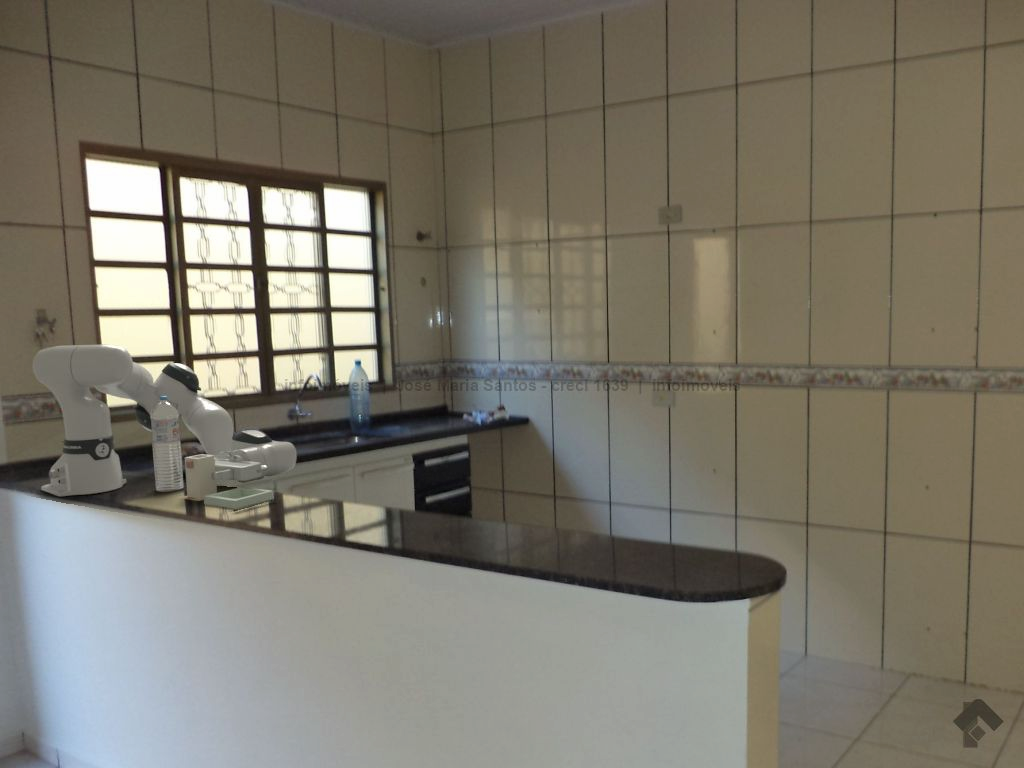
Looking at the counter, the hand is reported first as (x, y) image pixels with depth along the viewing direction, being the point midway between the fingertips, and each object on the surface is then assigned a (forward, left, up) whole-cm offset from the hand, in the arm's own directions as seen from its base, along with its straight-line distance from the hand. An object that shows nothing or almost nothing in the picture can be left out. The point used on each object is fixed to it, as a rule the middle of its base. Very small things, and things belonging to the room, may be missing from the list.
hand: (201, 475), depth 209 cm
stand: (0, 0, -6) cm, 6 cm away
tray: (+14, 0, -6) cm, 15 cm away
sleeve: (0, 0, -5) cm, 5 cm away
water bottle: (-16, +2, -6) cm, 17 cm away
